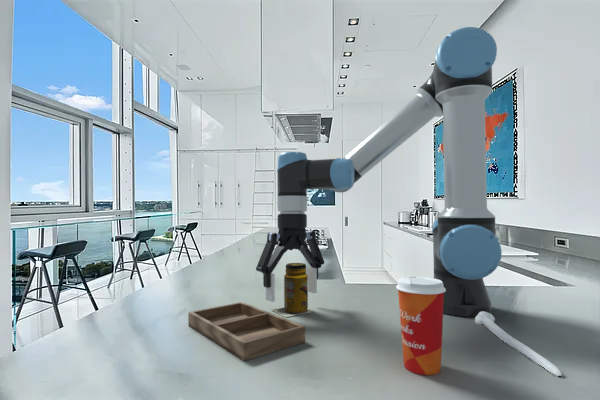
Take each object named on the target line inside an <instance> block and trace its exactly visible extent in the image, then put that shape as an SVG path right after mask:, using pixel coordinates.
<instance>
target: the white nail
mask: <svg viewBox="0 0 600 400" xmlns="http://www.w3.org/2000/svg"><path fill="white" fill-rule="evenodd" d="M495 320H496V318H495V317H494V315H493V314H492V313H488V312H485V311H481V312H479V313H478V315H477V316H475V318H474V322H475V324H477V323H478V324H477V325H481V324H483V325H482V326H485V327H486V328H487V329H488V330H489V331H490V332H492V333H493V334H494V335H495V336H496V337H498V338H499V339H500V340H501V341H502V340H503V341H504V342H503V341H502V342H503V343H505V342H506V343H508V344H509V345H511V346H513V347H514V348H516V349H517V350H519V351H520V352H522V353H523V354H525V355H527V356H528V357H530V358H531V359H533V360H534V361H536V362H537V363H538V364H539V365H541V366H542V367H544V368H545V369H546V370H545V369H544V368H543V369H544V370H545V371H547V370H548V371H549V372H548V371H547V372H548V373H550V372H551V373H550V374H552V375H553V374H554V375H553V376H555V375H557V376H561V377H562V376H563V374H562V372H561V370H559V369H560V368H558V367H557V366H556V365H555V364H553V363H552V362H550V361H549V360H548V359H547V358H545V357H544V356H542V355H541V354H539V353H538V352H536V351H535V350H533V349H532V348H531V347H529V346H527V345H526V344H524V343H522V342H521V341H519V340H518V339H517V338H514V337H513V336H511V335H510V334H509V333H508V332H506V331H504V329H502V328H501V327H500V326H499V325H498V324H496V322H495ZM506 343H505V344H506ZM508 344H507V345H508ZM509 345H508V346H509ZM511 346H510V347H511ZM514 348H513V349H514ZM517 350H516V351H517ZM519 351H518V352H519ZM520 352H519V353H520ZM522 353H521V354H522ZM523 354H522V355H523ZM525 355H524V356H525ZM528 357H527V358H528ZM531 359H530V360H531ZM534 361H533V362H534ZM537 363H536V364H537ZM538 364H537V365H538ZM539 365H538V366H539ZM541 366H540V367H541ZM542 367H541V368H542ZM557 376H556V377H557Z"/></svg>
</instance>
